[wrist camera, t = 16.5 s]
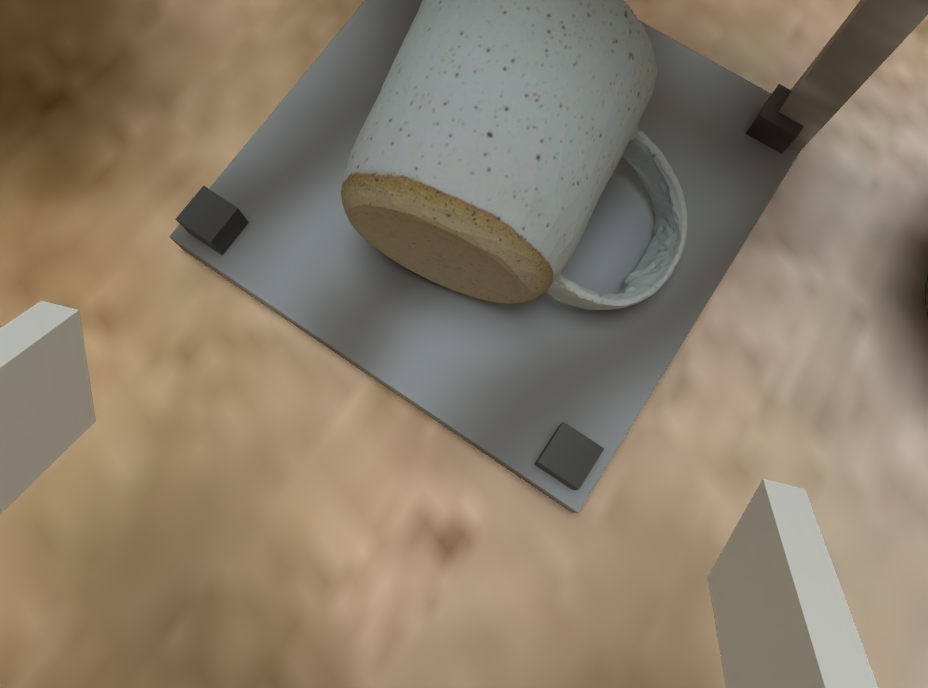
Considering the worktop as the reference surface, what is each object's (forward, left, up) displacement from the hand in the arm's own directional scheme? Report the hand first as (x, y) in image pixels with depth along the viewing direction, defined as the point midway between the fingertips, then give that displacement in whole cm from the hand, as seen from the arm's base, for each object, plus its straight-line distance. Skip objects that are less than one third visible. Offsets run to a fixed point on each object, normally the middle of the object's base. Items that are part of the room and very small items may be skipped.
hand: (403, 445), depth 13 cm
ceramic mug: (-2, +10, -10) cm, 14 cm away
